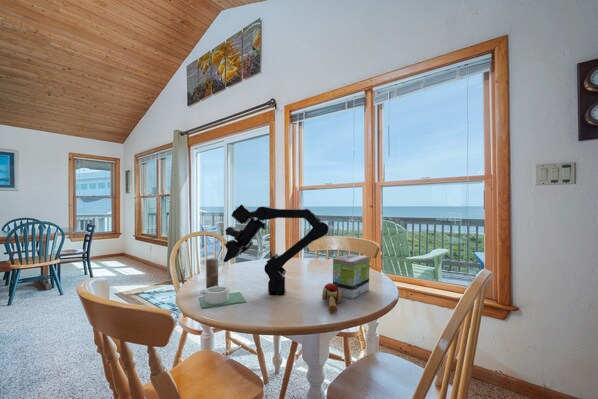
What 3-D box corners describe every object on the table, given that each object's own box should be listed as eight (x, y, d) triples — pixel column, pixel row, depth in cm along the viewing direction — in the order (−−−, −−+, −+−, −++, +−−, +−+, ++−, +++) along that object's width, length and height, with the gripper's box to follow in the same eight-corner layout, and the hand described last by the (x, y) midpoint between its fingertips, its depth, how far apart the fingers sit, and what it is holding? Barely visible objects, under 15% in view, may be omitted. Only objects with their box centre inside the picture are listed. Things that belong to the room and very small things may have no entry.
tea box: (354, 299, 110) (354, 261, 110) (331, 294, 116) (331, 258, 116) (369, 290, 122) (369, 255, 122) (348, 285, 128) (348, 253, 128)
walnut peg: (219, 287, 125) (219, 258, 125) (215, 291, 120) (215, 260, 120) (208, 287, 126) (208, 258, 126) (204, 291, 121) (204, 260, 121)
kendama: (346, 317, 96) (341, 293, 114) (343, 300, 95) (338, 278, 113) (324, 320, 97) (322, 296, 115) (320, 303, 96) (319, 281, 114)
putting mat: (239, 292, 118) (239, 282, 118) (246, 302, 107) (246, 290, 107) (199, 298, 112) (199, 287, 112) (201, 308, 101) (201, 296, 101)
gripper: (243, 218, 130) (223, 244, 132) (227, 220, 112) (204, 251, 113) (261, 233, 129) (241, 259, 130) (248, 238, 111) (225, 269, 112)
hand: (228, 259), depth 122 cm, fingers open, 9 cm apart
